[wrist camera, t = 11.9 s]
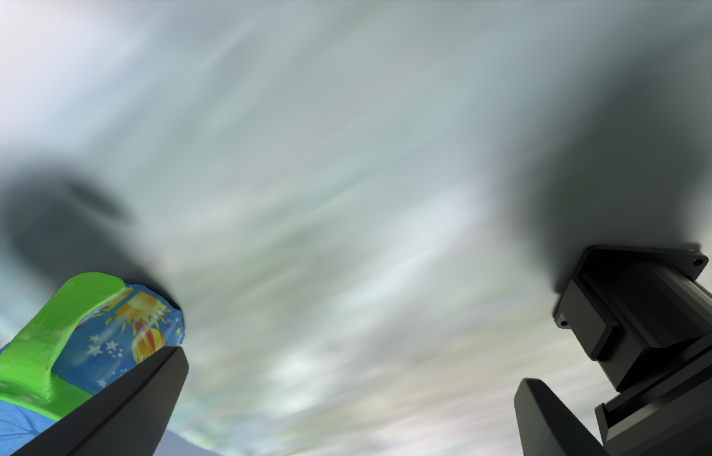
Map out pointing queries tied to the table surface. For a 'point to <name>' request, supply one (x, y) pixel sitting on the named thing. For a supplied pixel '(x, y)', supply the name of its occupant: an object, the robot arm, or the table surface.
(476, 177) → the table surface
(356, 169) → the table surface
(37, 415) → the snack cup
